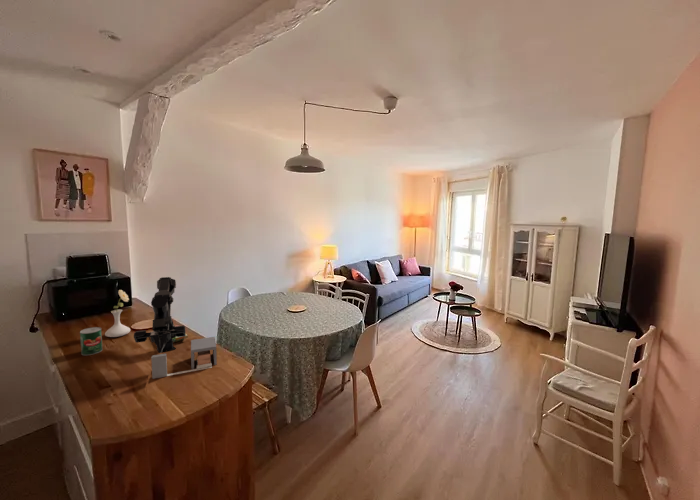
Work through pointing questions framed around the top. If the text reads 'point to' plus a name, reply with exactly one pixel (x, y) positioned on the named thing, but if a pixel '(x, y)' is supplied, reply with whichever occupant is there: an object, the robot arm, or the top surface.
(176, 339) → the puzzle game
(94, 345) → the canned tomato
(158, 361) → the grey white bent piece
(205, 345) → the tunnel
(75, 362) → the top surface
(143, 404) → the top surface
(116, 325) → the flower in vase
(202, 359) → the block
